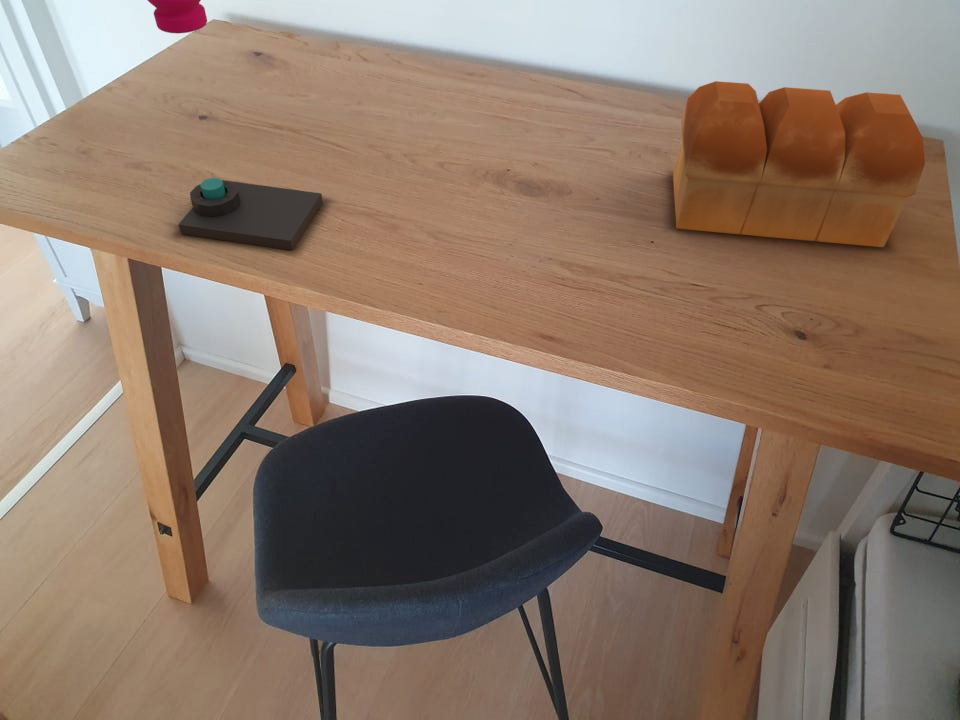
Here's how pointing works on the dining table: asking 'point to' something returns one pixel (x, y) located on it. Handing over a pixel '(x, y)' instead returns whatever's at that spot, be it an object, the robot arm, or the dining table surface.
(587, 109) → the dining table surface
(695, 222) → the bread
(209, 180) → the button
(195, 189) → the dark button base
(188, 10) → the pepper mill
